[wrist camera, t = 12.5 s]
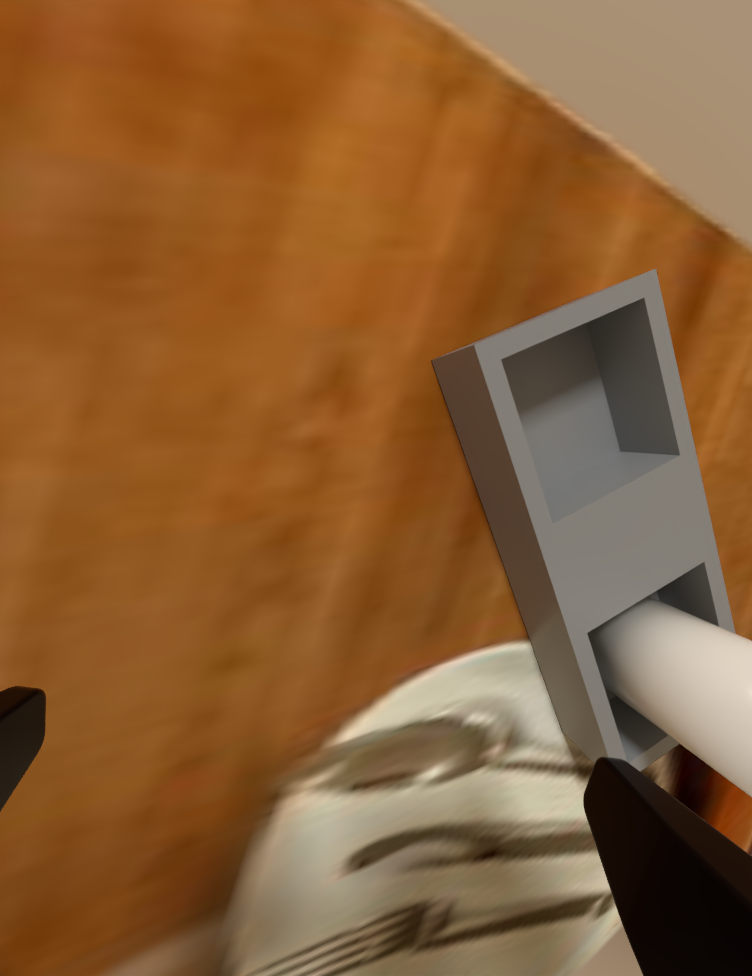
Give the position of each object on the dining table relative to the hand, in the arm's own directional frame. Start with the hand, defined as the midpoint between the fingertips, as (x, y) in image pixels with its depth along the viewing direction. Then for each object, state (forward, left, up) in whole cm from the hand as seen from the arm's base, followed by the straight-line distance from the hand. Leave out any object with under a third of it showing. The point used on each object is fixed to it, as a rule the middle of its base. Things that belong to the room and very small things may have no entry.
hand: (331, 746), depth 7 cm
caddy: (+6, -12, -11) cm, 18 cm away
